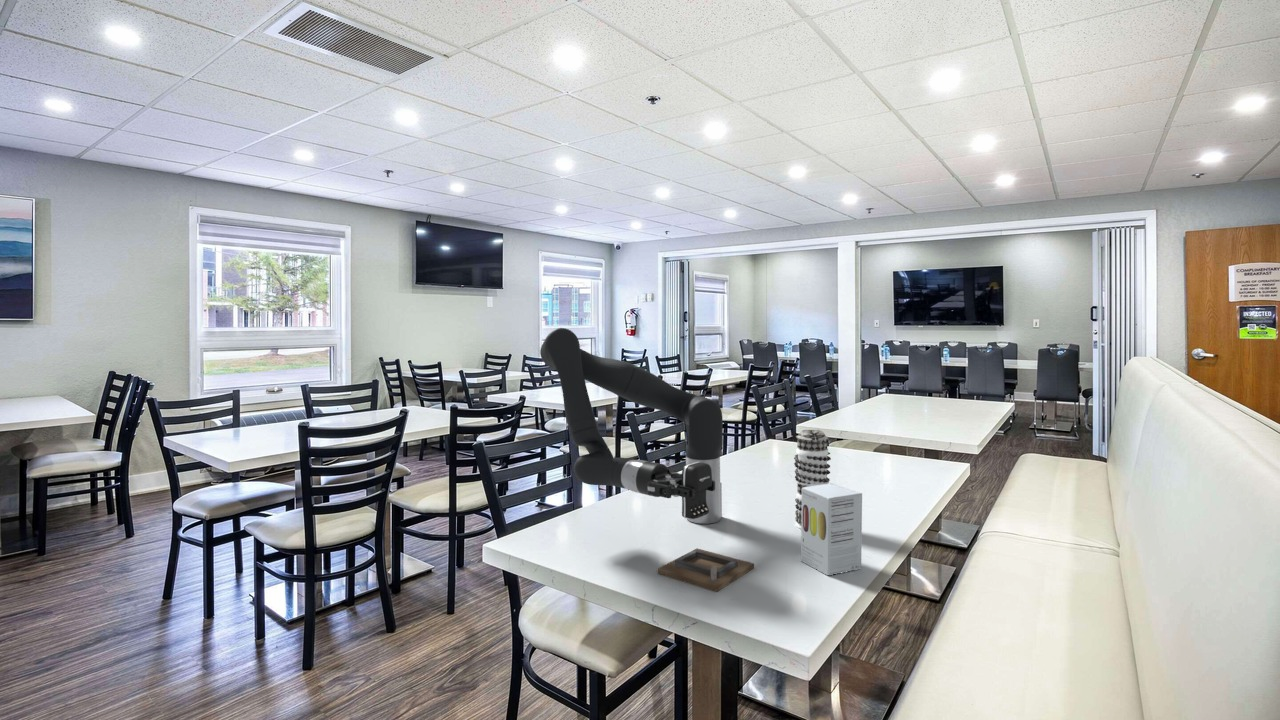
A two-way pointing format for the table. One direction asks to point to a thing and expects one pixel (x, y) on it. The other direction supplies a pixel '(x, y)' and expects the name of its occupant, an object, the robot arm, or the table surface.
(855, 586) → the table surface
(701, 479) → the battery charger
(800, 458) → the decorative candle
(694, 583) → the locating plate
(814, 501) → the supplement box
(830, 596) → the table surface
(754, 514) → the table surface
